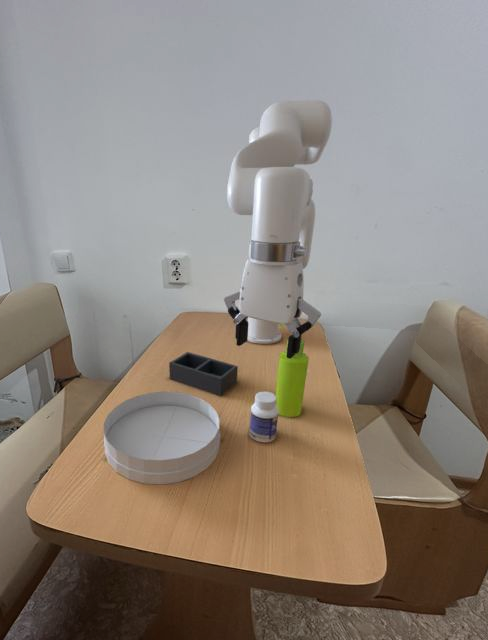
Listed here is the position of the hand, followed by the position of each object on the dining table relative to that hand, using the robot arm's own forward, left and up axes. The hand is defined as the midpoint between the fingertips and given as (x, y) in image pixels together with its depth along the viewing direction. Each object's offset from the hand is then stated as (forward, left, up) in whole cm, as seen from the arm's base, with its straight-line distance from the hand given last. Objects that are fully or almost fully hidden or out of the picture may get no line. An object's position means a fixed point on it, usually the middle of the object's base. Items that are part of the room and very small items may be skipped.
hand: (265, 349), depth 67 cm
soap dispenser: (-12, +1, -19) cm, 22 cm away
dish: (+13, -14, -19) cm, 27 cm away
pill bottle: (0, +1, -19) cm, 19 cm away
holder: (-12, -21, -19) cm, 31 cm away
